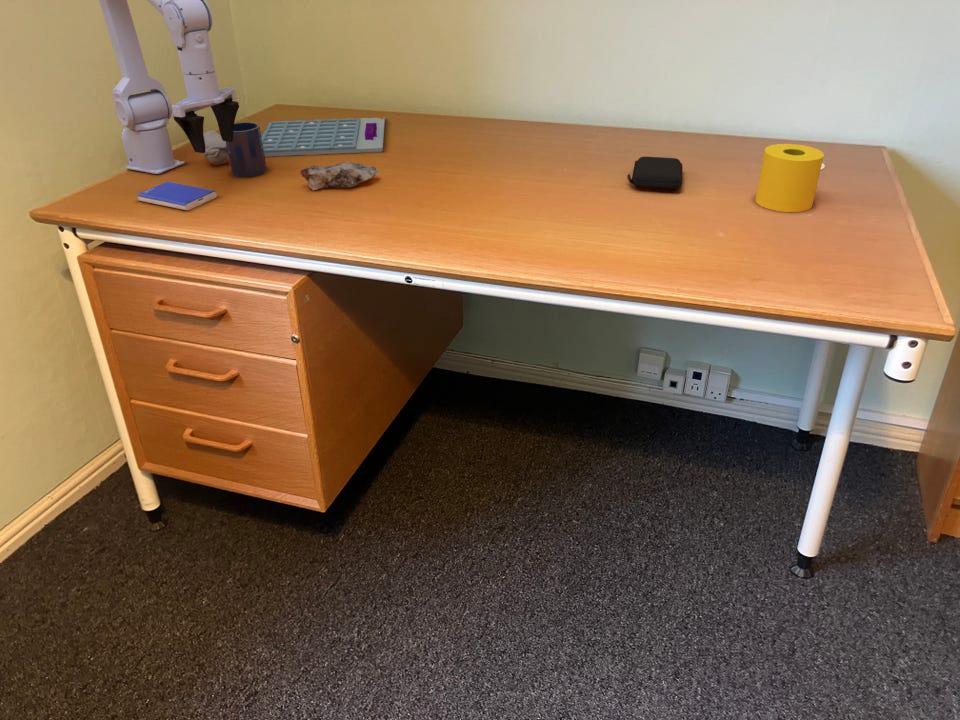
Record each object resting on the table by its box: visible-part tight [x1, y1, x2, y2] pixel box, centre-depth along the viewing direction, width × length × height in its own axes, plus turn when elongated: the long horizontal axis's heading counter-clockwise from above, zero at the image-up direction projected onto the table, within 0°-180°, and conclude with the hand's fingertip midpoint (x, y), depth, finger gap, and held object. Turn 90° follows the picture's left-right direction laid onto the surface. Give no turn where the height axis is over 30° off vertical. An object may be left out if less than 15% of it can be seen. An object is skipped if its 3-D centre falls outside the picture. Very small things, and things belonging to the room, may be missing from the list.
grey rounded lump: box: [203, 130, 229, 166], centre depth 163 cm, size 6×7×7 cm
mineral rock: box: [300, 161, 380, 192], centre depth 151 cm, size 15×8×4 cm, turn 92°
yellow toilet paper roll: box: [755, 143, 825, 213], centre depth 138 cm, size 10×10×9 cm
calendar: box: [261, 116, 386, 158], centre depth 180 cm, size 27×29×2 cm
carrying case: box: [626, 156, 684, 193], centre depth 151 cm, size 11×3×15 cm
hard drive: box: [137, 181, 218, 212], centre depth 146 cm, size 2×8×12 cm
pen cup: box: [226, 121, 268, 179], centre depth 157 cm, size 7×7×10 cm
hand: (214, 146), depth 143 cm, fingers open, 7 cm apart
